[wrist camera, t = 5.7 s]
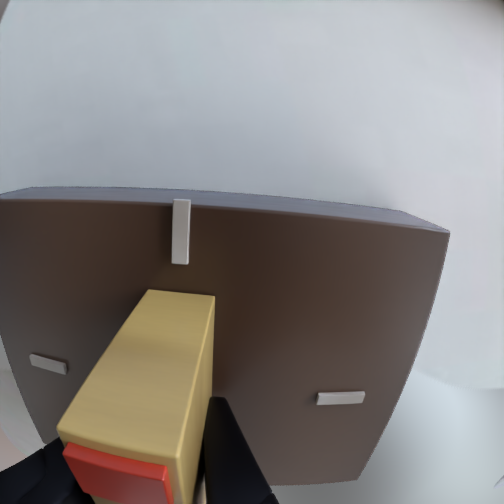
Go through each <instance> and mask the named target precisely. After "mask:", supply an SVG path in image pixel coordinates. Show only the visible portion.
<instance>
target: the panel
mask: <svg viewBox="0 0 504 504" xmlns="http://www.w3.org/2000/svg"><path fill="white" fill-rule="evenodd" d="M449 237H450V232H449V231H448V230H446V229H444V228H442V227H439V226H437V225H435V224H432V223H430V222H427V221H425V220H423V219H420V218H418V217H415V216H413V215H410V214H408V213H405V212H403V211H398V210H391V209H383V208H376V207H368V206H361V205H353V204H345V203H336V202H327V201H318V200H309V199H299V198H289V197H278V196H267V195H255V194H243V193H229V192H214V191H198V190H179V189H157V188H128V187H31V188H26V189H21V190H16V191H12V192H8V193H3V194H0V335H1V338H2V341H3V345H4V348H5V351H6V354H7V357H8V360H9V363H10V366H11V369H12V372H13V375H14V377H15V380H16V383H17V385H18V388H19V390H20V393H21V395H22V398H23V400H24V402H25V405H26V407H27V409H28V412H29V414H30V416H31V418H32V420H33V423H34V425H35V427H36V429H37V431H38V433H39V435H40V437H41V439H42V441H43V443H45V444H49V443H50V442H52V441H53V440H55V439H56V438H58V437H59V434H58V432H57V430H56V426H57V424H58V422H59V421H60V419H61V417H62V416H63V414H64V412H65V411H66V409H67V408H68V406H69V404H70V403H71V401H72V400H73V398H74V397H75V395H76V393H77V392H78V390H79V389H80V387H81V386H82V384H83V383H84V381H85V380H86V378H87V376H88V375H89V373H90V372H91V370H92V369H93V367H94V366H95V364H96V363H97V361H98V360H99V358H100V357H101V355H102V354H103V353H104V351H105V350H106V348H107V347H108V345H109V344H110V342H111V341H112V339H113V338H114V337H115V335H116V334H117V332H118V331H119V329H120V328H121V326H122V325H123V324H124V322H125V321H126V319H127V318H128V317H129V315H130V314H131V312H132V311H133V310H134V308H135V307H136V305H137V304H138V303H139V301H140V300H141V298H142V297H143V296H144V294H145V293H146V292H147V290H149V289H150V290H159V291H169V292H178V293H188V294H199V295H210V296H215V314H214V339H213V368H212V396H216V397H225V398H226V399H227V401H228V403H229V405H230V408H231V410H232V412H233V414H234V416H235V418H236V421H237V423H238V425H239V427H240V429H241V431H242V433H243V435H244V437H245V439H246V441H247V443H248V445H249V447H250V449H251V451H252V453H253V455H254V457H255V459H256V461H257V463H258V465H259V467H260V469H261V471H262V473H263V475H264V477H265V479H266V481H267V482H268V484H269V485H306V484H307V485H308V484H323V483H335V482H344V481H352V480H357V479H358V478H359V476H360V474H361V473H362V471H363V469H364V467H365V466H366V464H367V462H368V460H369V459H370V457H371V455H372V453H373V451H374V449H375V448H376V446H377V444H378V442H379V440H380V438H381V436H382V434H383V432H384V430H385V428H386V426H387V424H388V422H389V420H390V418H391V415H392V413H393V411H394V409H395V407H396V404H397V402H398V400H399V398H400V395H401V393H402V391H403V388H404V386H405V384H406V381H407V379H408V376H409V374H410V371H411V369H412V366H413V363H414V361H415V358H416V355H417V353H418V350H419V347H420V344H421V341H422V338H423V335H424V332H425V329H426V326H427V323H428V320H429V317H430V313H431V310H432V307H433V303H434V300H435V296H436V293H437V289H438V285H439V281H440V277H441V273H442V269H443V265H444V261H445V256H446V252H447V247H448V242H449Z"/></svg>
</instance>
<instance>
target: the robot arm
mask: <svg viewBox="0 0 504 504" xmlns="http://www.w3.org/2000/svg"><path fill="white" fill-rule="evenodd" d="M64 449H65V447H64V445H63V443H62V441H61V439H60V436H59V437H58V438H56V439H55V440H53V441H52V442H50V443H49V444H47V445H46V446H44V448H43V449H42V448H41V449H39V450H38V451H36V452H35V453H33V454H32V455H30V456H29V457H27V458H25V459H24V460H22V461H20V462H19V463H17V464H15V465H13V466H11V467H9V468H7V469H5V470H3V471H1V472H0V504H95V502H94V500H93V499H92V497H91V496H90V494H88V493H85V492H83V490H82V489H81V487H80V485H79V484H78V482H77V480H76V478H75V477H74V475H73V473H72V471H71V470H70V468H69V466H68V464H67V462H66V460H65V458H64V456H63V454H62V453H63V451H64ZM204 475H205V494H206V504H279V503H278V500H277V499H276V497H275V495H274V494H273V493H272V490H271V488H270V486H269V484H268V482H267V481H266V479H265V477H264V475H263V473H262V471H261V469H260V467H259V465H258V463H257V461H256V459H255V457H254V455H253V453H252V451H251V449H250V447H249V445H248V443H247V441H246V439H245V437H244V435H243V433H242V431H241V429H240V427H239V425H238V423H237V421H236V418H235V416H234V414H233V412H232V410H231V408H230V405H229V403H228V401H227V399H226V398H225V397H216V396H211V397H210V399H209V404H208V409H207V415H206V420H205V426H204Z"/></svg>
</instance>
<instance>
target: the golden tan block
mask: <svg viewBox="0 0 504 504" xmlns="http://www.w3.org/2000/svg"><path fill="white" fill-rule="evenodd" d="M214 314H215V296H210V295H199V294H188V293H178V292H169V291H159V290H150V289H149V290H147V292H146V293H145V294H144V296H143V297H142V298H141V300H140V301H139V303H138V304H137V305H136V307H135V308H134V310H133V311H132V312H131V314H130V315H129V317H128V318H127V319H126V321H125V322H124V324H123V325H122V326H121V328H120V329H119V331H118V332H117V334H116V335H115V337H114V338H113V339H112V341H111V342H110V344H109V345H108V347H107V348H106V350H105V351H104V353H103V354H102V355H101V357H100V358H99V360H98V361H97V363H96V364H95V366H94V367H93V369H92V370H91V372H90V373H89V375H88V376H87V378H86V380H85V381H84V383H83V384H82V386H81V387H80V389H79V390H78V392H77V393H76V395H75V397H74V398H73V400H72V401H71V403H70V404H69V406H68V408H67V409H66V411H65V412H64V414H63V416H62V417H61V419H60V421H59V422H58V424H57V426H56V430H57V432H58V434H59V436H60V439H61V441H62V443H63V445H64V447H65V449H64V451H63V453H62V454H63V456H64V458H65V460H66V462H67V464H68V466H69V468H70V470H71V471H72V473H73V475H74V477H75V478H76V480H77V482H78V484H79V485H80V487H81V489H82V490H83V492H85V493H88V494H90V496H91V497H92V499H93V500H94V502H95V504H206V494H205V475H204V426H205V420H206V415H207V409H208V404H209V399H210V397H211V396H212V368H213V339H214Z"/></svg>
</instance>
